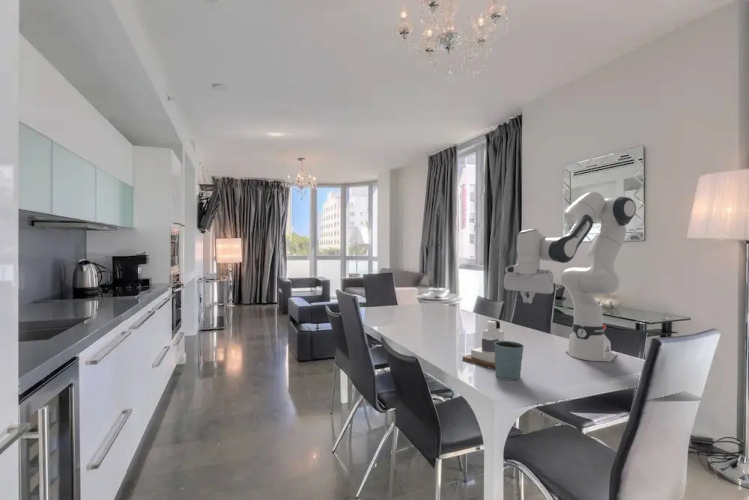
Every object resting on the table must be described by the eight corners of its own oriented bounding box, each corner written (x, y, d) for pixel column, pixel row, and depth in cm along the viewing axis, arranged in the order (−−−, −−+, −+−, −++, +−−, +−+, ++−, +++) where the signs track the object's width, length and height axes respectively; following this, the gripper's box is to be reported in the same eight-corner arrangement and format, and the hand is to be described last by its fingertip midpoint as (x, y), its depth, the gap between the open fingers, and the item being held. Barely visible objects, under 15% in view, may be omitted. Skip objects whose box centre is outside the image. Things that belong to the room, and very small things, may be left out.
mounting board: (485, 353, 177) (485, 350, 177) (518, 362, 164) (518, 358, 164) (462, 360, 167) (462, 356, 167) (495, 369, 154) (495, 365, 154)
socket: (486, 352, 173) (486, 344, 173) (509, 358, 165) (509, 349, 165) (471, 356, 166) (471, 348, 166) (493, 363, 158) (493, 354, 158)
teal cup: (490, 372, 151) (490, 340, 151) (516, 371, 152) (516, 340, 152) (500, 381, 141) (500, 347, 141) (527, 380, 142) (528, 347, 142)
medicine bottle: (491, 342, 197) (491, 318, 197) (503, 345, 192) (504, 321, 192) (482, 345, 193) (482, 320, 193) (495, 348, 187) (495, 322, 187)
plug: (491, 351, 170) (491, 336, 170) (500, 353, 166) (500, 338, 166) (481, 353, 166) (482, 338, 165) (490, 356, 162) (491, 340, 162)
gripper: (557, 270, 155) (556, 305, 155) (510, 267, 171) (509, 299, 171) (548, 270, 151) (548, 306, 151) (501, 267, 167) (501, 300, 167)
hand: (527, 302), depth 161 cm, fingers closed
